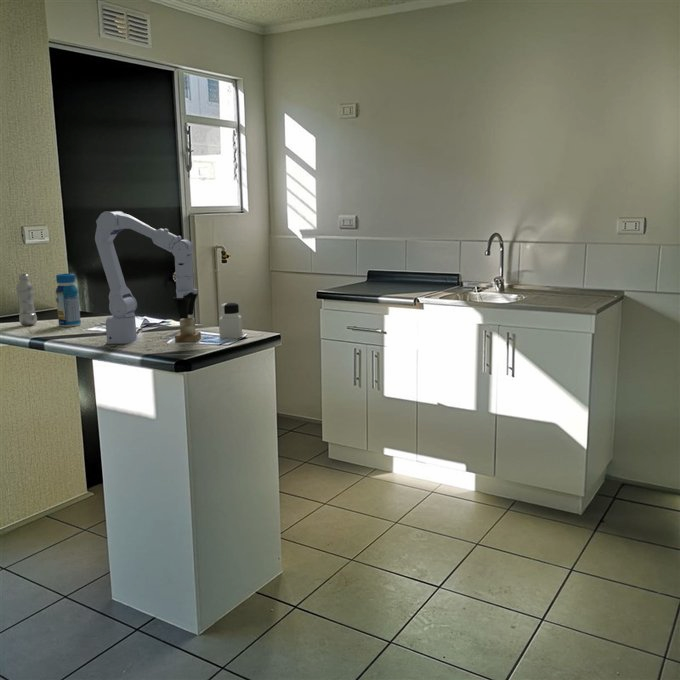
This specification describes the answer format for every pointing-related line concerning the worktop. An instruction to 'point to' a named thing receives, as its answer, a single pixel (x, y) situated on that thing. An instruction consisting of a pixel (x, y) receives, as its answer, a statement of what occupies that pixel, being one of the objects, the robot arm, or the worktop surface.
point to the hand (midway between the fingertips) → (186, 316)
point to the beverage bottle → (67, 301)
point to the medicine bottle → (230, 321)
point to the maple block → (187, 326)
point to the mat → (186, 343)
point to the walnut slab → (187, 338)
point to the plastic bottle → (26, 301)
